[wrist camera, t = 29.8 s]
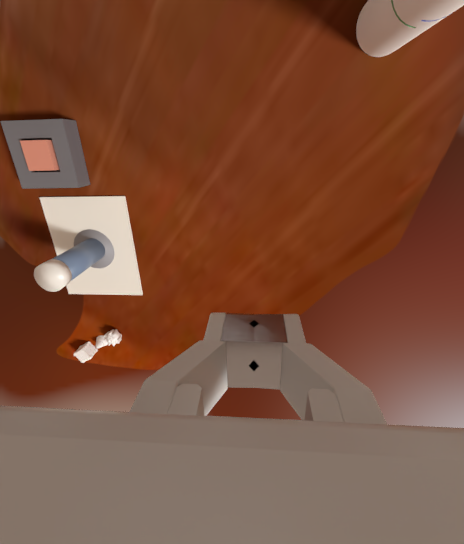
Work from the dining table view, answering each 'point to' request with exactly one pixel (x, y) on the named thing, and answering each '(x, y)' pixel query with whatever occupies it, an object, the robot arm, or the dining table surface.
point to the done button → (40, 155)
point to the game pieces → (97, 345)
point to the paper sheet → (104, 227)
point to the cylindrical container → (398, 22)
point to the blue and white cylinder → (68, 265)
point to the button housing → (64, 146)
